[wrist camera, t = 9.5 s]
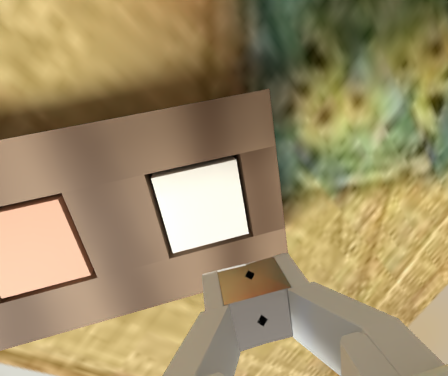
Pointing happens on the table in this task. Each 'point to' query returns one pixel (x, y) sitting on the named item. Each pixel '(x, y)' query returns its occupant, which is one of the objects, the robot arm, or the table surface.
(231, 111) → the key console
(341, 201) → the table surface
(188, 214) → the key ivory
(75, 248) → the key terracotta
